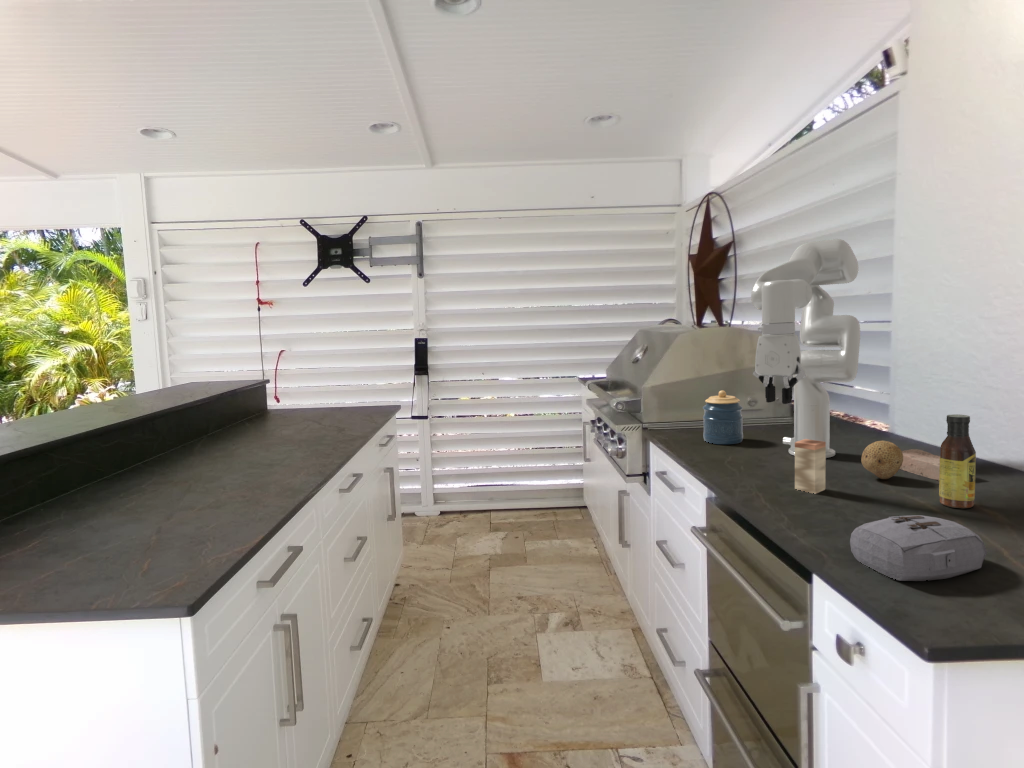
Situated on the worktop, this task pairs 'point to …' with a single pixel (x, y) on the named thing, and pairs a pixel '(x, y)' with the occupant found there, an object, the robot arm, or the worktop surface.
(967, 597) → the worktop surface
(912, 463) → the brick
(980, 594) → the worktop surface
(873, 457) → the natural sponge
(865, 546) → the soft grey pack
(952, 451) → the sauce bottle
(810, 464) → the maple block
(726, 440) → the canister
